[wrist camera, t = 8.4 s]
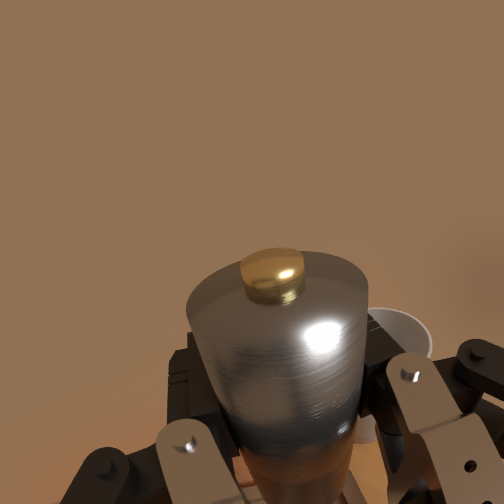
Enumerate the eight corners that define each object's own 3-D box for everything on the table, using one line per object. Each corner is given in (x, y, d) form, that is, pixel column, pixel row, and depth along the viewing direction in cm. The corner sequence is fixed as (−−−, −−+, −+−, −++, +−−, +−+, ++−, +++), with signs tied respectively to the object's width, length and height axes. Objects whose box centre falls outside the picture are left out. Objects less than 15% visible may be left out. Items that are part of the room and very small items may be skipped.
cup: (408, 390, 23) (427, 308, 20) (402, 460, 17) (435, 386, 13) (331, 385, 27) (330, 305, 23) (309, 452, 20) (304, 378, 16)
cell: (269, 524, 7) (173, 340, 4) (251, 458, 11) (180, 250, 7) (358, 496, 8) (409, 274, 4) (328, 436, 11) (321, 218, 7)
